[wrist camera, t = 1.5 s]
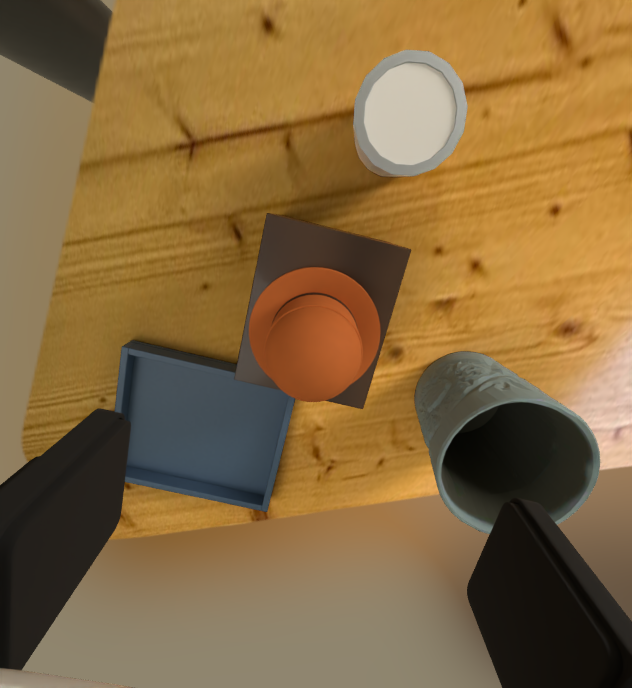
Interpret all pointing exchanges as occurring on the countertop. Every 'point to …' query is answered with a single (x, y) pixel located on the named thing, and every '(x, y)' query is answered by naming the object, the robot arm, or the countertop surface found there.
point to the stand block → (333, 253)
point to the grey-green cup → (501, 441)
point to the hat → (314, 332)
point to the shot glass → (408, 114)
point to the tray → (200, 426)
